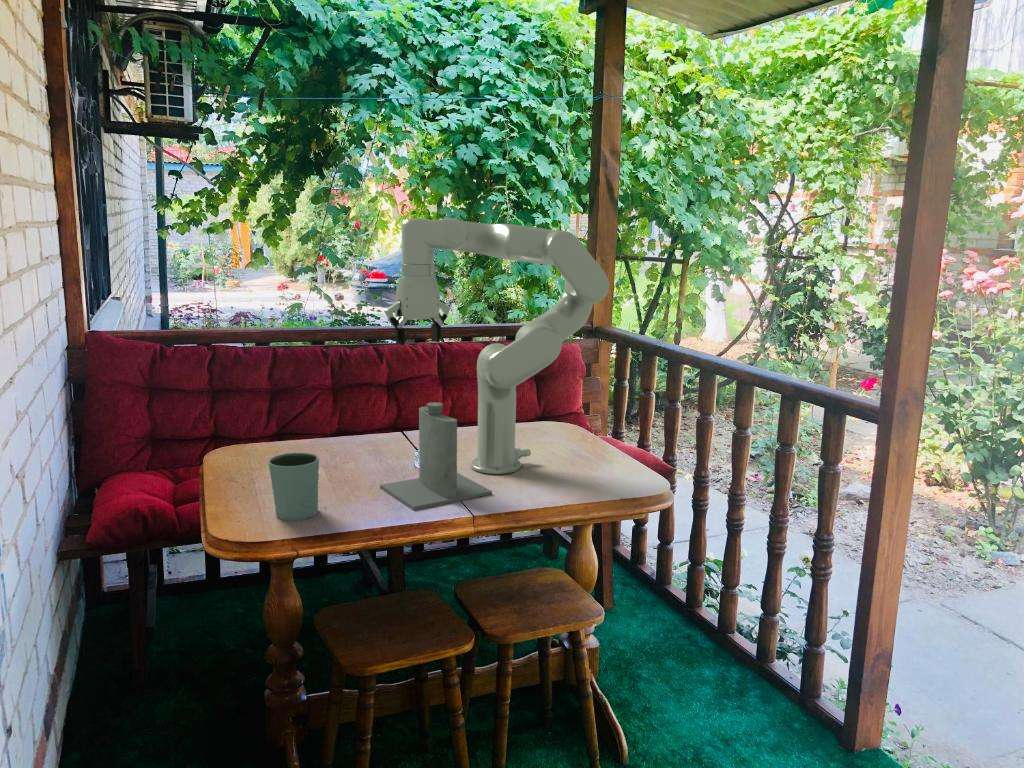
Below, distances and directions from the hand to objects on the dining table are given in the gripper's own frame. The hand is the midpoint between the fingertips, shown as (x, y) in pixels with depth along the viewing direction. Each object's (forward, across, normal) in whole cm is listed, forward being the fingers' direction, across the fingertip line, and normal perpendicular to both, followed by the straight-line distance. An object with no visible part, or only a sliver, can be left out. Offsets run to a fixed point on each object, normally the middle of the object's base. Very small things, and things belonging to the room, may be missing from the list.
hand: (418, 342), depth 190 cm
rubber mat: (+32, +4, +16) cm, 36 cm away
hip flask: (+32, +4, +16) cm, 36 cm away
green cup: (+32, +36, +12) cm, 50 cm away
